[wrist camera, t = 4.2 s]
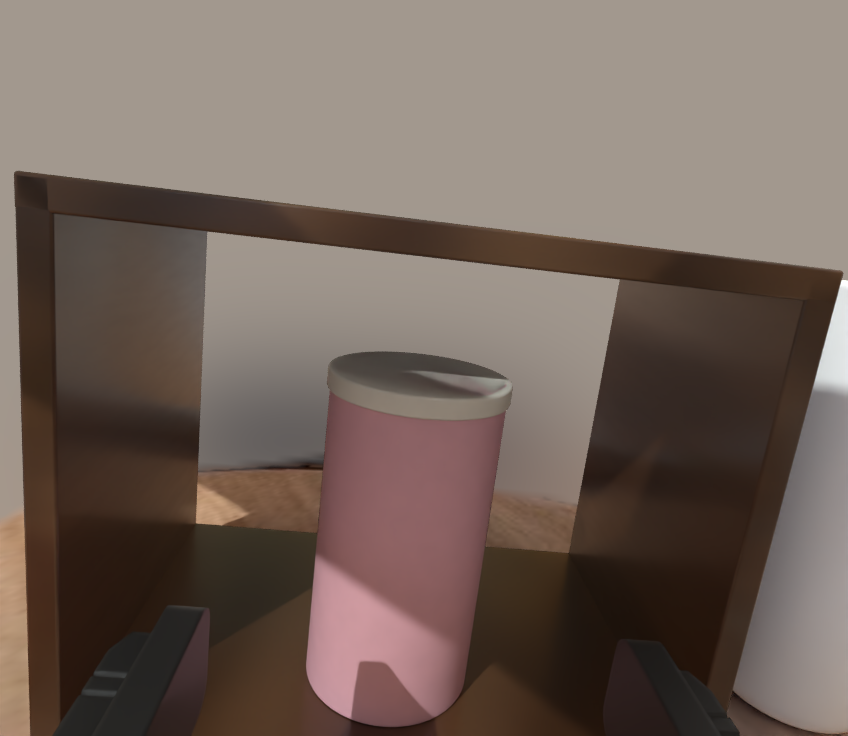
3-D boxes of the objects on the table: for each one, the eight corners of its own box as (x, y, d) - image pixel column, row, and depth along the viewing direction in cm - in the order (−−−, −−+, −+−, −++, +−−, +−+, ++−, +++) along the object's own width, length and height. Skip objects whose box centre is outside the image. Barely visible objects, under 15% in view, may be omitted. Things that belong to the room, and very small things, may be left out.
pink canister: (290, 725, 18) (318, 386, 16) (313, 610, 23) (336, 344, 21) (478, 735, 18) (531, 408, 16) (458, 620, 23) (496, 361, 21)
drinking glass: (650, 634, 26) (732, 267, 22) (781, 623, 28) (875, 283, 24) (783, 776, 19) (926, 293, 16) (940, 747, 21) (1097, 312, 18)
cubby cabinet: (29, 766, 17) (12, 170, 13) (177, 541, 28) (188, 193, 25) (704, 799, 18) (845, 271, 15) (581, 572, 30) (643, 248, 26)
